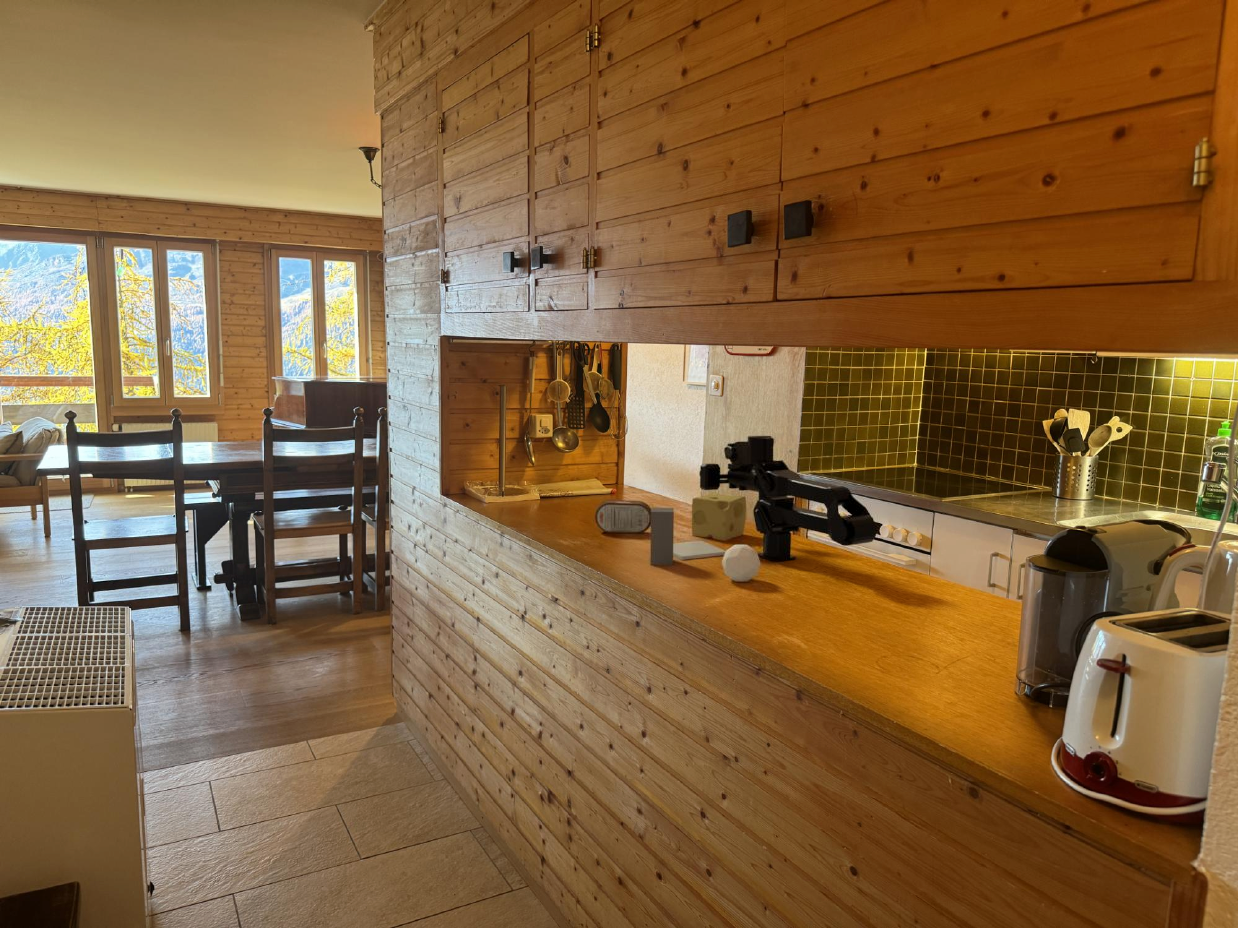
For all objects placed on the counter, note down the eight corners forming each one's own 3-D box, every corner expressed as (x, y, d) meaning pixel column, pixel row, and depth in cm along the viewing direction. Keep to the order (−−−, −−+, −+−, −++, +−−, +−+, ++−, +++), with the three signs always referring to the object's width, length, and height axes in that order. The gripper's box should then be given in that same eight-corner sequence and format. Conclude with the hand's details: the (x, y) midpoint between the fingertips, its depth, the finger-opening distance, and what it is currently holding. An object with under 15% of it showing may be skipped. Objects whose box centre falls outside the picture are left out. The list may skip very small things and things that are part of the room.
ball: (735, 595, 179) (716, 568, 176) (732, 572, 186) (714, 546, 183) (768, 580, 177) (750, 552, 174) (764, 557, 184) (746, 530, 181)
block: (672, 559, 198) (673, 507, 196) (673, 565, 193) (673, 512, 191) (650, 559, 198) (651, 507, 196) (650, 564, 193) (650, 511, 191)
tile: (726, 554, 202) (726, 551, 202) (681, 559, 197) (681, 556, 197) (700, 543, 213) (700, 540, 213) (657, 548, 208) (657, 545, 208)
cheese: (725, 541, 216) (726, 502, 214) (689, 535, 222) (689, 497, 221) (746, 534, 224) (747, 496, 223) (710, 528, 230) (711, 491, 229)
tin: (653, 532, 226) (653, 500, 225) (652, 534, 223) (652, 502, 222) (595, 530, 228) (595, 499, 226) (594, 533, 224) (594, 501, 223)
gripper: (785, 443, 209) (746, 439, 223) (720, 445, 201) (684, 441, 214) (783, 489, 210) (745, 483, 224) (719, 493, 202) (683, 486, 215)
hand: (715, 472), depth 220 cm, fingers open, 9 cm apart
